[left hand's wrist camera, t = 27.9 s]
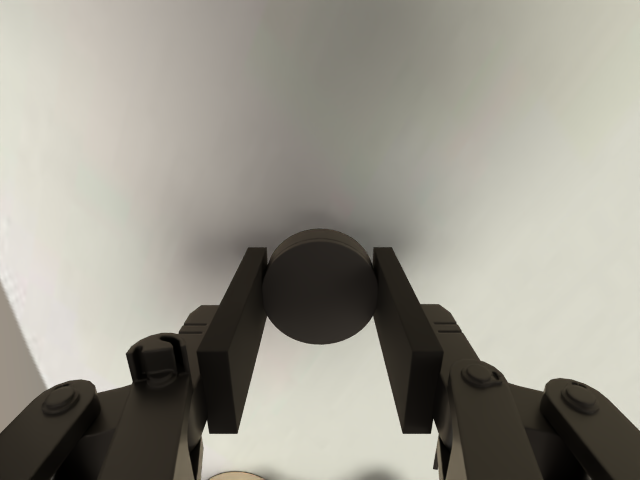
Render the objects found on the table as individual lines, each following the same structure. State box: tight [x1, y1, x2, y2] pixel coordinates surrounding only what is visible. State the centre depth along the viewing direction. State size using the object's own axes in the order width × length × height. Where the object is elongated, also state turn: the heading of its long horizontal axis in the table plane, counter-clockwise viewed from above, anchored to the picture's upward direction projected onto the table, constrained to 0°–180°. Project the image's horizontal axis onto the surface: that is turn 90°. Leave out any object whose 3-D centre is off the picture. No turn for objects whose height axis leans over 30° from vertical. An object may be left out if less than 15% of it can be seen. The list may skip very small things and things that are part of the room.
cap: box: [262, 229, 378, 345], centre depth 14 cm, size 4×4×2 cm
